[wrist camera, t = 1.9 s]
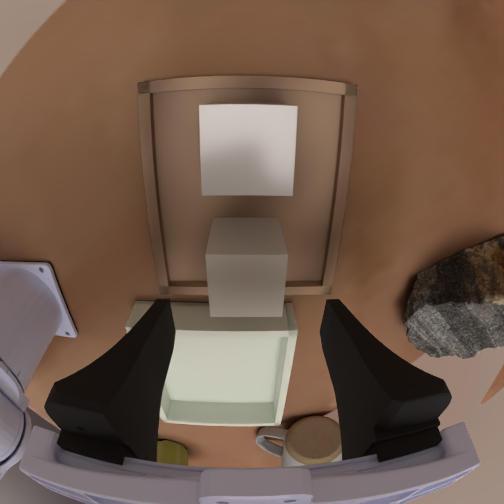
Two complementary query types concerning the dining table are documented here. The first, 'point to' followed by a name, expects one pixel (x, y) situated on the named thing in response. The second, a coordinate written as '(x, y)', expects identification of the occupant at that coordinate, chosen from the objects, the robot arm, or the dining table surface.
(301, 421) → the ceramic mug
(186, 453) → the plant pot
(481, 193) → the dining table surface
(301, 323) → the dining table surface
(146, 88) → the wooden tray
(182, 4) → the dining table surface
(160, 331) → the robot arm
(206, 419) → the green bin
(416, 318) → the rock
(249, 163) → the stone
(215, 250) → the stone
